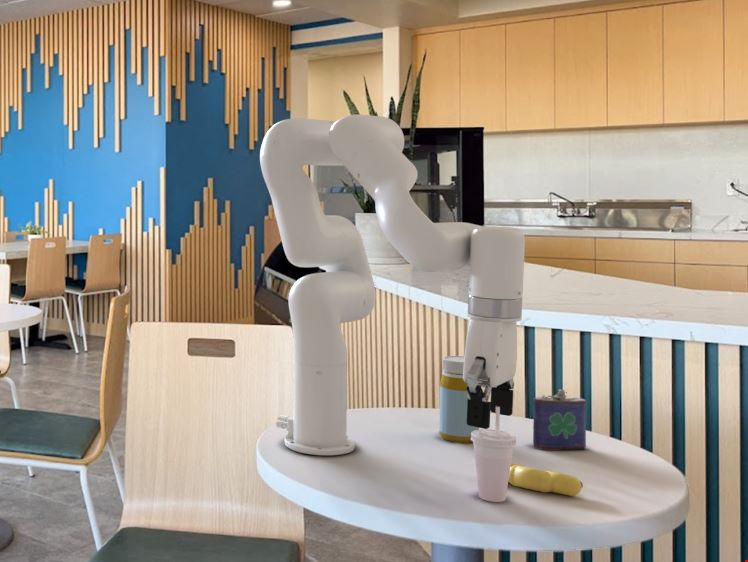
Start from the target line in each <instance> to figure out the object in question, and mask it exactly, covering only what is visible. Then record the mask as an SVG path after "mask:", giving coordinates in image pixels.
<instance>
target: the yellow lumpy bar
mask: <svg viewBox="0 0 748 562" xmlns="http://www.w3.org/2000/svg"><path fill="white" fill-rule="evenodd" d="M508 484H511V486H514V487H517V488H522V489H527V490H531V491H535V492H536V491H537V492H541V493H549V492H551V493H555V494H561V495H565V496H570V497H572V496H573V497H574V496H577V495H579V494H580V493H581V491H582V488H583V487H584V485H583V482H582V481H581V480H580V479H579V478H578V477H576V476H575V475H570V474H565V473H561V472H556V471H552V470H544V469H543V470H542V469H538V468H537V469H536V468H532V467H527V466H523V465H521V464H516V463H512V462H511V467H510V473H509V480H508Z"/></svg>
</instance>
